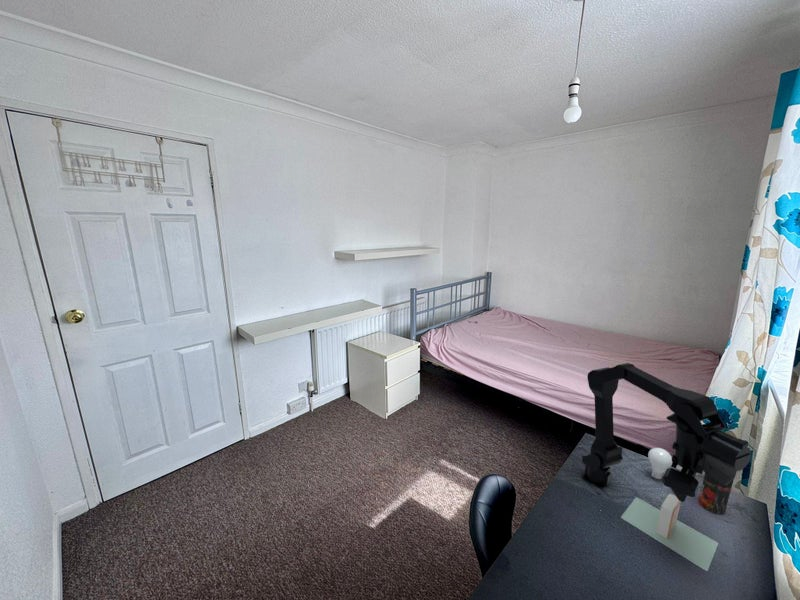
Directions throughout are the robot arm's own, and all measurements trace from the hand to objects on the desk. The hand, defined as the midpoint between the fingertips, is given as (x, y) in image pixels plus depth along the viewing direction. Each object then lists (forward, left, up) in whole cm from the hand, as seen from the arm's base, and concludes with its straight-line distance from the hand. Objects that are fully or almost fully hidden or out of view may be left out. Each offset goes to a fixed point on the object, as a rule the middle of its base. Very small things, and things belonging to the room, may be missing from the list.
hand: (686, 489), depth 86 cm
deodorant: (+4, +20, -16) cm, 25 cm away
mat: (-2, 0, -15) cm, 15 cm away
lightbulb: (-10, +21, -16) cm, 28 cm away
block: (-2, 0, -15) cm, 15 cm away
